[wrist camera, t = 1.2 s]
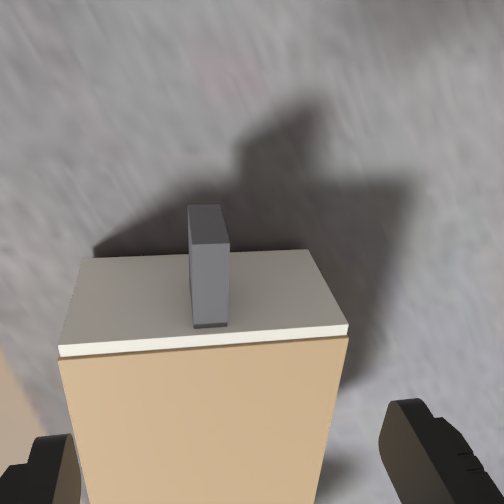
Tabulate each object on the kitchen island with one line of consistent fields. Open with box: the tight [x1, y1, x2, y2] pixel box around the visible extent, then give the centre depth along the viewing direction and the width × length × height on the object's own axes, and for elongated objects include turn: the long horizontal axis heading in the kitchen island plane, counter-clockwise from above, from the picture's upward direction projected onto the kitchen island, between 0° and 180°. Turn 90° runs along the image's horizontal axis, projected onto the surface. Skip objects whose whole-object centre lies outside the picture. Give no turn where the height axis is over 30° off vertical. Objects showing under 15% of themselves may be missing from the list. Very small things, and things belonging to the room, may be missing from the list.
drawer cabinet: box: [58, 335, 349, 504], centre depth 25 cm, size 14×12×7 cm
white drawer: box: [58, 204, 349, 357], centre depth 23 cm, size 18×12×6 cm
